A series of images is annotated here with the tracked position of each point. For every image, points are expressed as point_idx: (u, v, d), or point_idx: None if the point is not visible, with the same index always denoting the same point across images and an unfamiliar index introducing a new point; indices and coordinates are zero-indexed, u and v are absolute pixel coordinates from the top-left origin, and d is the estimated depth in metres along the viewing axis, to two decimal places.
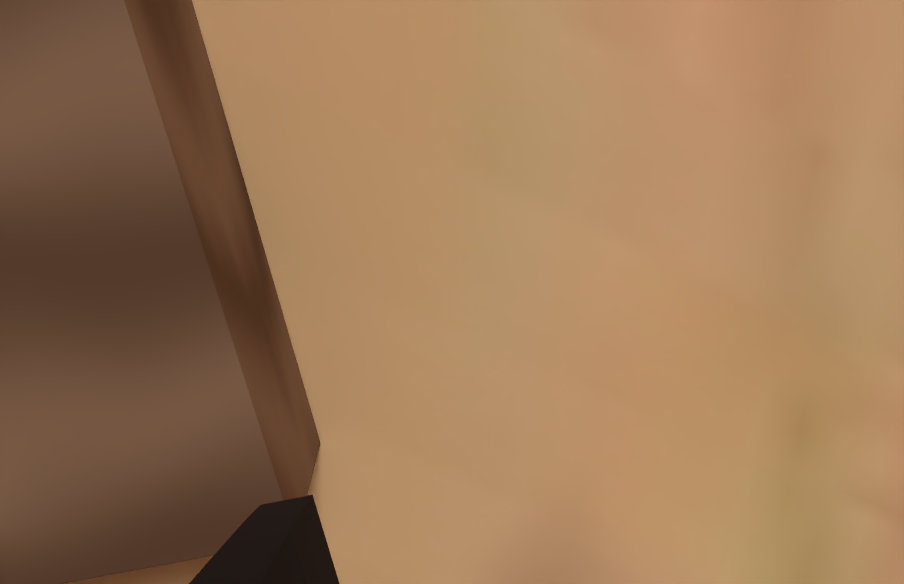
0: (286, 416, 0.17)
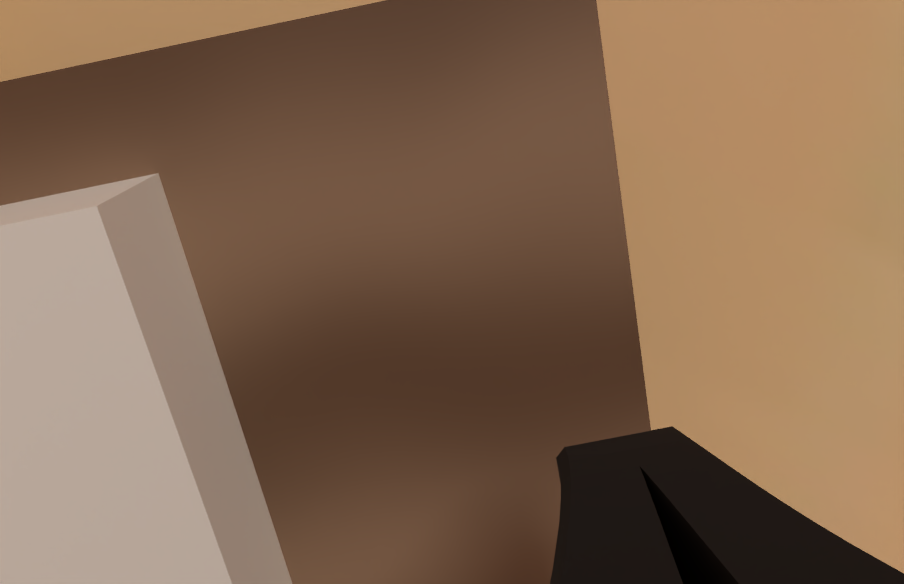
0: None
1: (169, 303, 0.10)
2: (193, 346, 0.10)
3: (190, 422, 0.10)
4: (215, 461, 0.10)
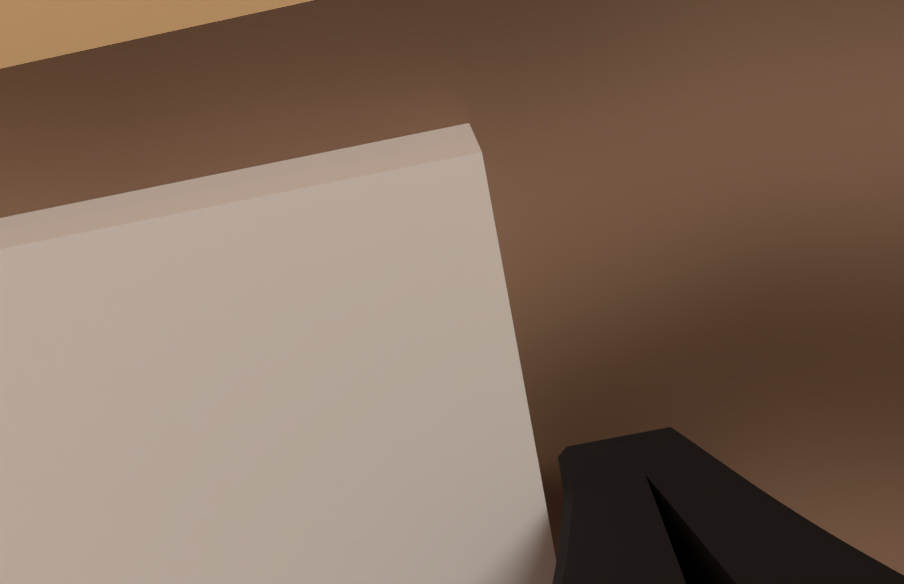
0: None
1: None
2: None
3: None
4: None
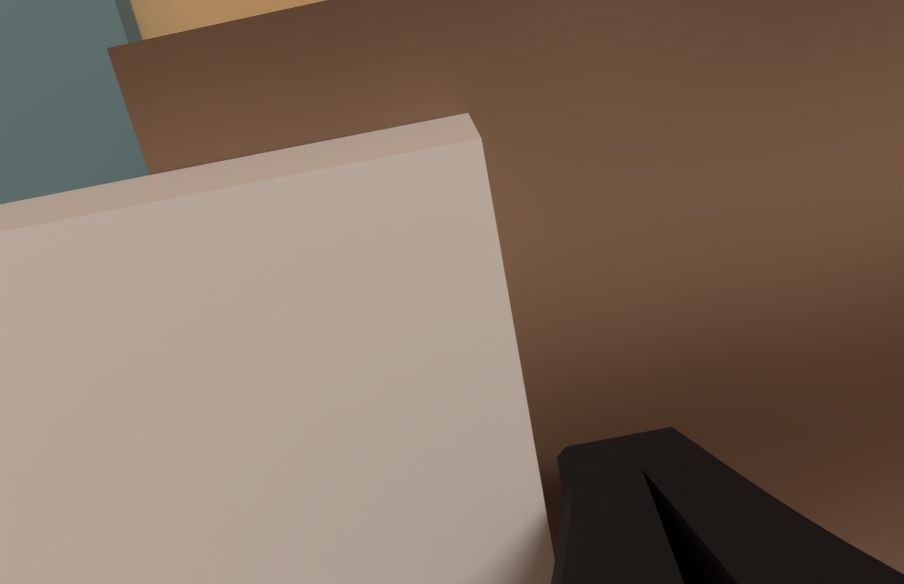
0: None
1: None
2: None
3: None
4: None
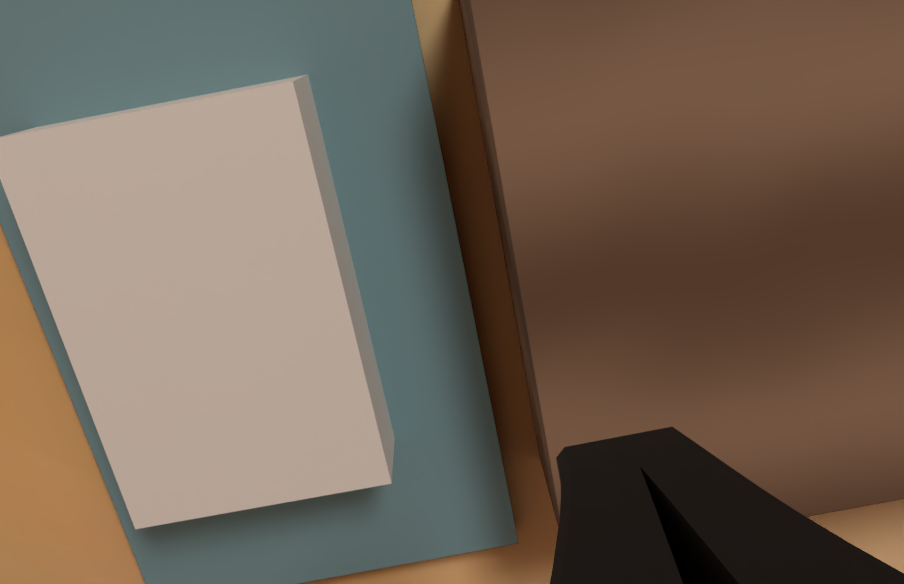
0: None
1: None
2: None
3: None
4: None
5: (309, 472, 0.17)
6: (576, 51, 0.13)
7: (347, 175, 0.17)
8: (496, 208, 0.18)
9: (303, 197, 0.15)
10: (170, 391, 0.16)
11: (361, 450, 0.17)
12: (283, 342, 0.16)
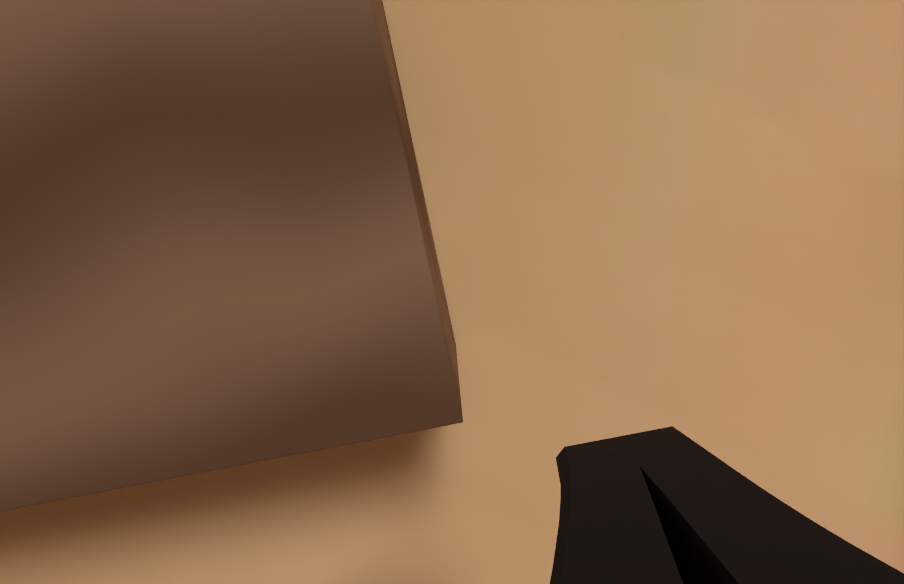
0: (441, 300, 0.17)
1: None
2: None
3: None
4: None
5: None
6: None
7: None
8: None
9: None
10: None
11: None
12: None
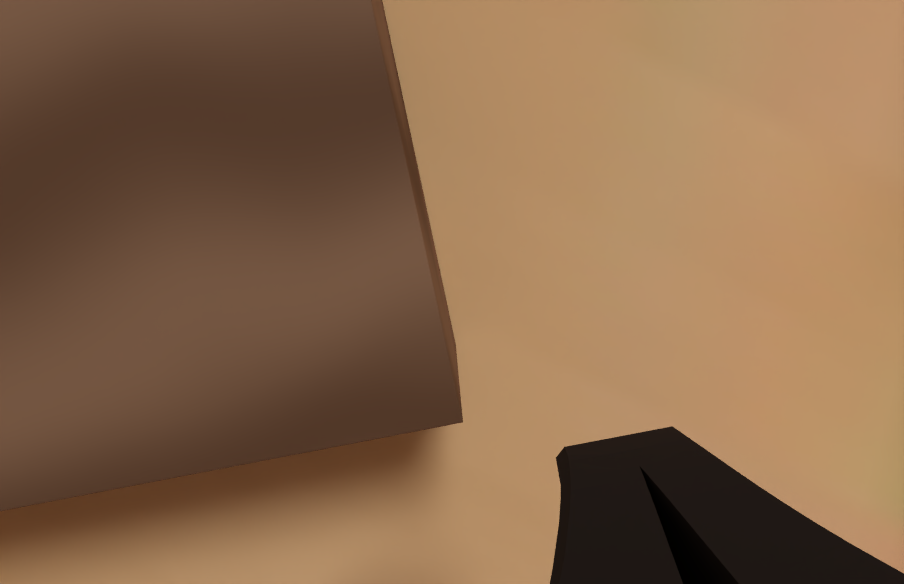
0: (441, 300, 0.17)
1: None
2: None
3: None
4: None
5: None
6: None
7: None
8: None
9: None
10: None
11: None
12: None
